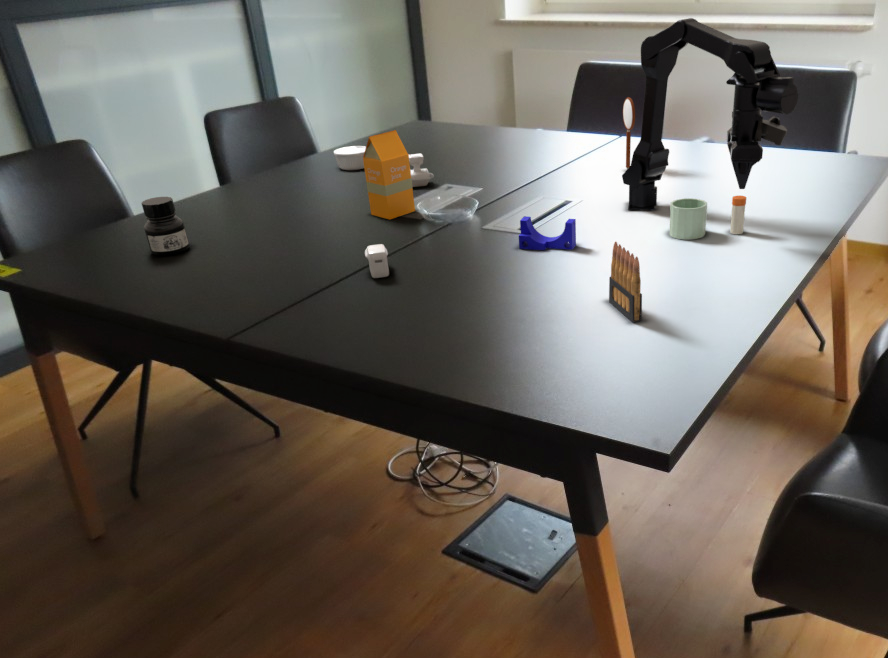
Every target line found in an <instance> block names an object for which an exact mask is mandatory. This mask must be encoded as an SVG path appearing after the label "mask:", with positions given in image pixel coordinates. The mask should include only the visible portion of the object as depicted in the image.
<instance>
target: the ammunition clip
mask: <svg viewBox="0 0 888 658" xmlns="http://www.w3.org/2000/svg"><path fill="white" fill-rule="evenodd" d="M640 268H641V267H640V260H639V257H638V256H635V255H634V253H630V250H626V248H625V247H622V245H621V244H618V242H617V240H615V241H614V243H613V247H612V256H611V263H610V276H609V279H608V280H609V282H608V283H609V285H608V286H609V287H608V302H609V304H611V305H612V306H613V307H614V308H615V309H616V310H617V311H619V313H621V314H622V315H623V317H625V318H626V319H628V320H629V321H630V322H631V323H638V322H643V294H642V293H641V287H642V286H641V285H642V283H641V272H640V271H641V269H640Z"/></svg>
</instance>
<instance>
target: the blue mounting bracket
mask: <svg viewBox="0 0 888 658" xmlns="http://www.w3.org/2000/svg"><path fill="white" fill-rule="evenodd" d="M576 221H577V220H576V218H568V219H567V220H566V221H565V222H564V229H563V231H562V233H561V234H559V235H557V236H546V235H544V234H542V233H540V232H539V231H538V230H537V229H536V228H535V227H534V225H533V222H532V217H531V216H523V217H522V218H521V219H520V221H519V225H520V227H519V228H520V233H519V234H518V248H519V249H520V250H534V251H546V250H547V249H555V250H574V249H575V247H576V246H577V226H576V225H577V224H576V223H577V222H576Z"/></svg>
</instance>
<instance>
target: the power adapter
mask: <svg viewBox="0 0 888 658" xmlns="http://www.w3.org/2000/svg"><path fill="white" fill-rule="evenodd" d="M388 254H389V252H388V249H387V248H386V247H385V245H384V244H383V243H378V244H371V245H368V246H367V247H366V248H365V250H364V256H365V258H366V259H367V260H368V266H369V271H370V276H371V277H372V278H373V279H379V278H387V277H389V276H390V269H389V267H390V266H389V260H388Z"/></svg>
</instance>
